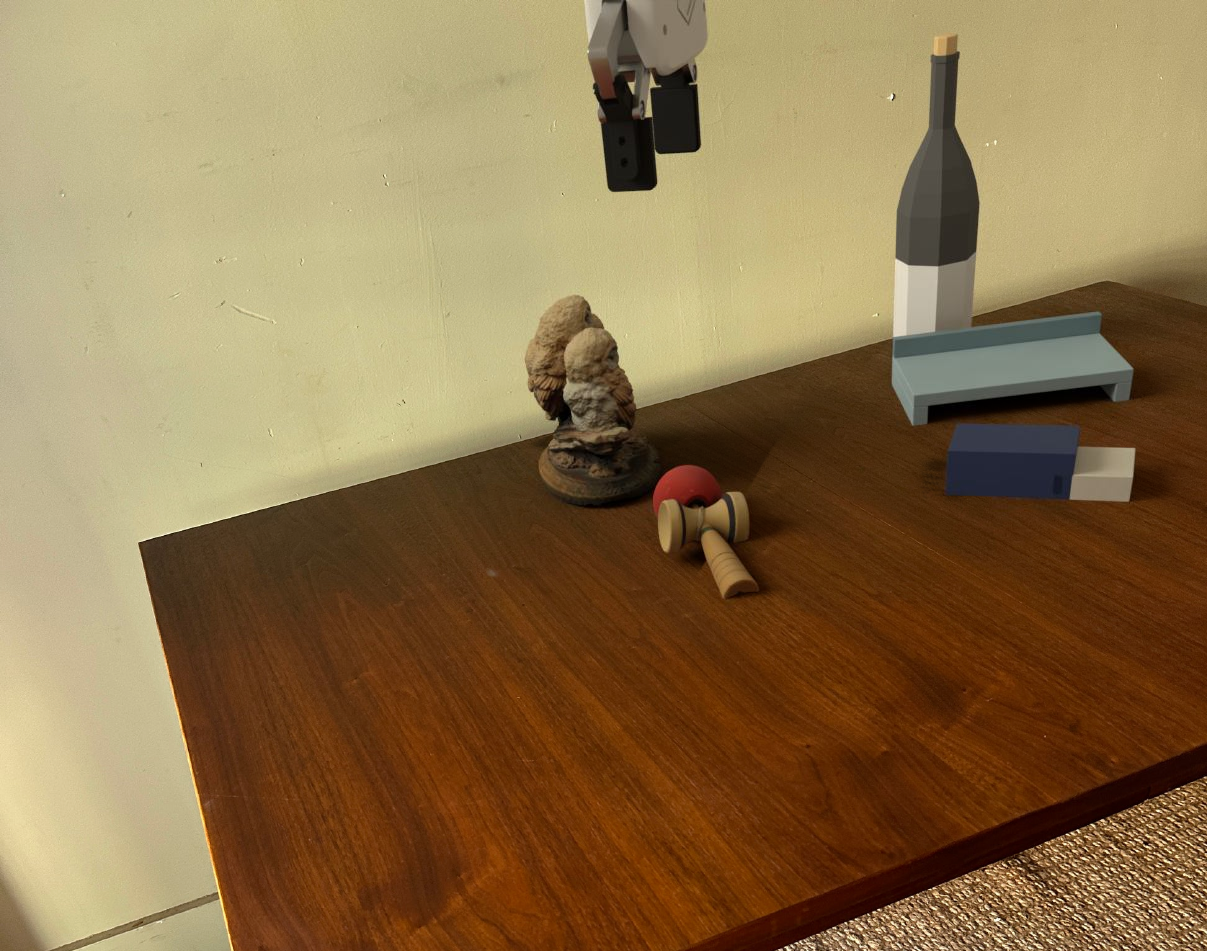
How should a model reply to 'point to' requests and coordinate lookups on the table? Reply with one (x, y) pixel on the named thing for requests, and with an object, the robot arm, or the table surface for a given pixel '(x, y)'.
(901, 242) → the wine bottle
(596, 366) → the owl figurine
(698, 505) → the kendama
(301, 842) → the table surface
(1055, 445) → the navy block on base
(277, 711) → the table surface
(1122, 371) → the shelf
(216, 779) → the table surface
